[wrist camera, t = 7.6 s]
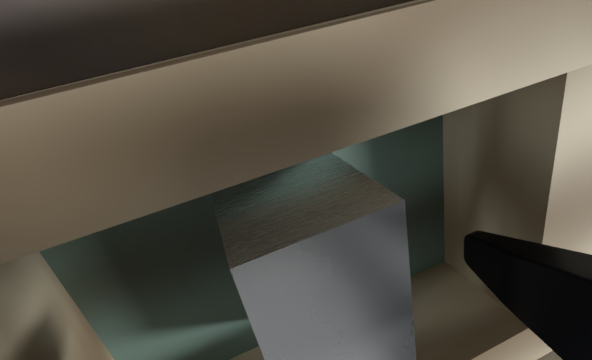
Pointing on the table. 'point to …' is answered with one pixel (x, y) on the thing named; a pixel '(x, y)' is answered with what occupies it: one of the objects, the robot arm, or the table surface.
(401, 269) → the grey rectangular block
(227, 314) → the well
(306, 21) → the table surface
